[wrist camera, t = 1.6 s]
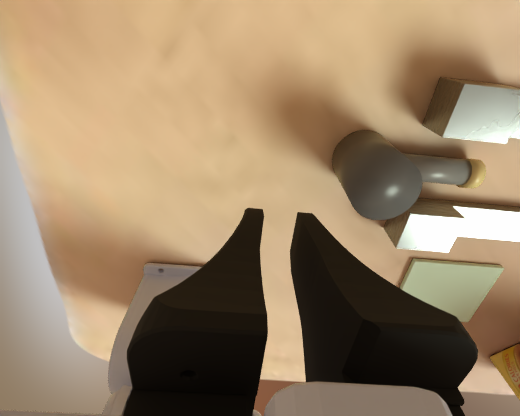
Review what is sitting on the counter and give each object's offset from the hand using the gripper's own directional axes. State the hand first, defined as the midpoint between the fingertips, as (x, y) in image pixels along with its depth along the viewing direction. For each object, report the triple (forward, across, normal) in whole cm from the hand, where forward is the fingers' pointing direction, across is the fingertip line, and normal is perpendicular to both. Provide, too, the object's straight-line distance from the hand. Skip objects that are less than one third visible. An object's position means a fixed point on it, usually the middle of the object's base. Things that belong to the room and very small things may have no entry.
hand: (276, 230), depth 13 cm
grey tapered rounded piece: (+10, -9, 0) cm, 14 cm away
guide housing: (+10, -16, 0) cm, 19 cm away
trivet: (+10, -18, +12) cm, 23 cm away
